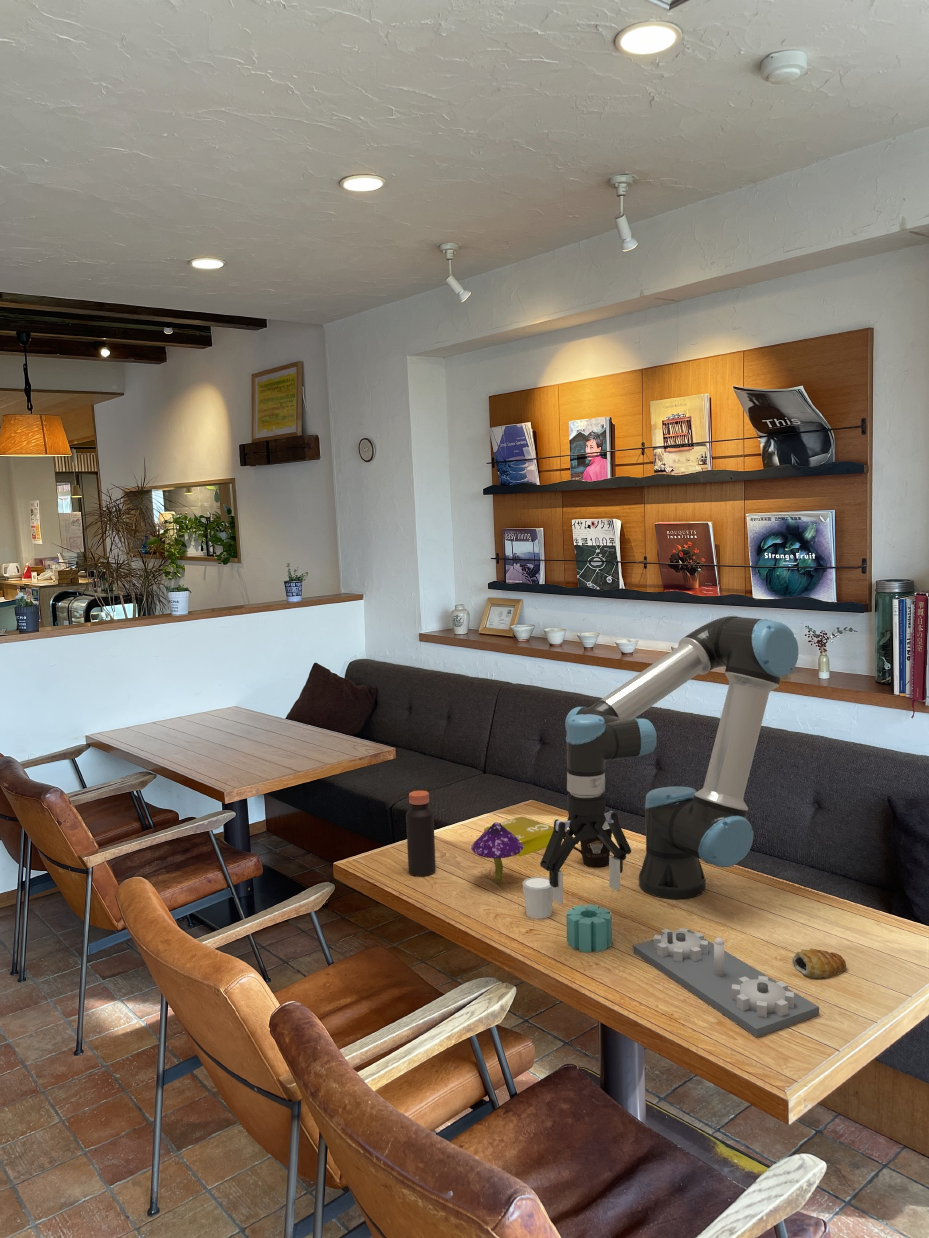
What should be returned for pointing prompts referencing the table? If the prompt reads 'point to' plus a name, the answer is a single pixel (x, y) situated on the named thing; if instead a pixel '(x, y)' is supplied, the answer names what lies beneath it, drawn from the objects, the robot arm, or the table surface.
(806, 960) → the pastry
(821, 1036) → the table surface
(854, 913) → the table surface
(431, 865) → the bottle
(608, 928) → the idler gear
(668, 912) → the table surface
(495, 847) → the decorative mushroom
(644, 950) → the gear board
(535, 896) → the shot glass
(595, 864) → the coffee mug
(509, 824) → the element tile
